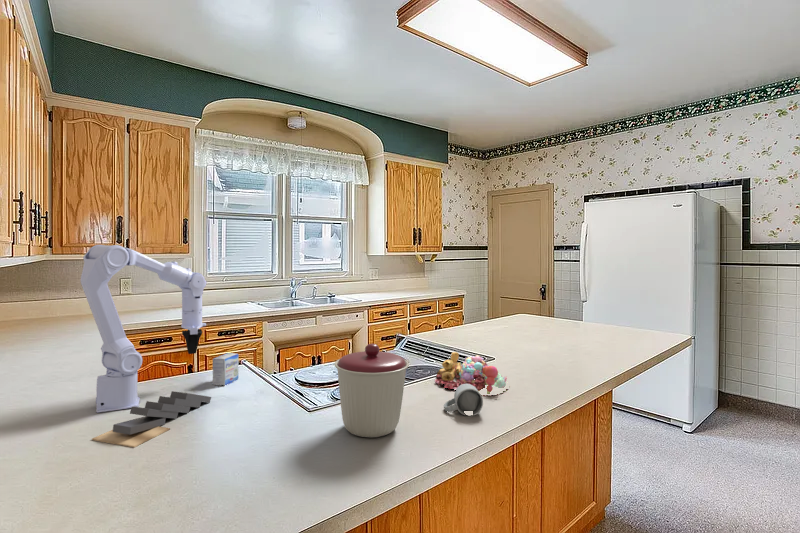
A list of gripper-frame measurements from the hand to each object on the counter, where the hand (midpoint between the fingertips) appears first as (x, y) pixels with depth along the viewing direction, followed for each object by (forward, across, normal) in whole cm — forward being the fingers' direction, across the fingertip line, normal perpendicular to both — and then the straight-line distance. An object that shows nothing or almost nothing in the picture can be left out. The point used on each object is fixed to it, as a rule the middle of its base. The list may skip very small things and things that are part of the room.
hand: (192, 353), depth 136 cm
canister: (+11, -55, -36) cm, 67 cm away
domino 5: (+10, -16, -2) cm, 19 cm away
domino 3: (+10, -22, +4) cm, 25 cm away
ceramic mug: (+11, -56, -64) cm, 85 cm away
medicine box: (+11, 0, -10) cm, 15 cm away
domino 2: (+10, -25, +7) cm, 28 cm away
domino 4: (+10, -19, +1) cm, 22 cm away
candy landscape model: (+11, -36, -83) cm, 91 cm away
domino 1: (+10, -28, +10) cm, 31 cm away
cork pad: (+10, -33, +15) cm, 37 cm away
